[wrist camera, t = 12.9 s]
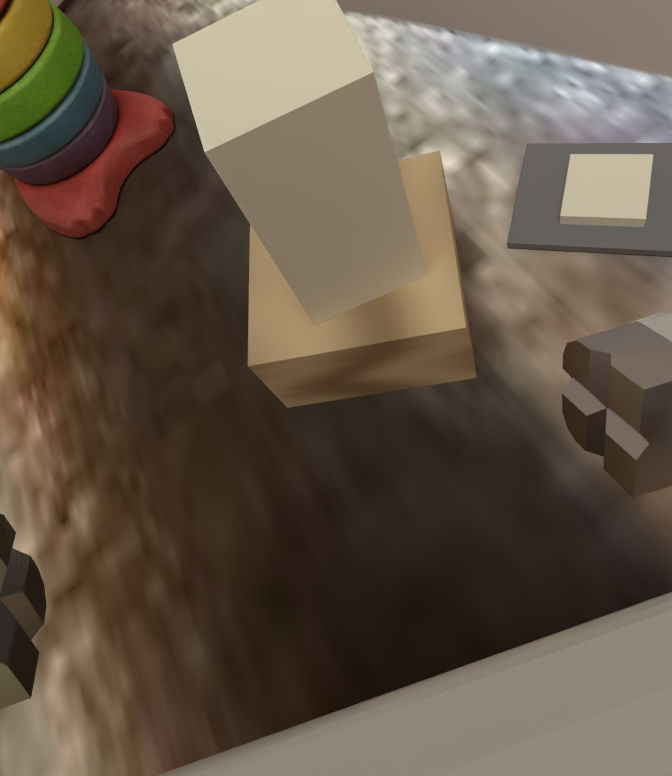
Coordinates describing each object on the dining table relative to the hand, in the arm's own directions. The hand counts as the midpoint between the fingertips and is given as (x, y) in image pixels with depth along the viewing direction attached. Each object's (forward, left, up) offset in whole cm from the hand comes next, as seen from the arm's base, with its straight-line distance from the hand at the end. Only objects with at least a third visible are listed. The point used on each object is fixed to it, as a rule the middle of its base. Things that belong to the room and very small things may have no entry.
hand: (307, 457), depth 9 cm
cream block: (-6, +12, -13) cm, 19 cm away
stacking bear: (-29, +21, -18) cm, 40 cm away
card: (+3, +19, -18) cm, 27 cm away
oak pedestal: (-6, +12, -18) cm, 23 cm away
